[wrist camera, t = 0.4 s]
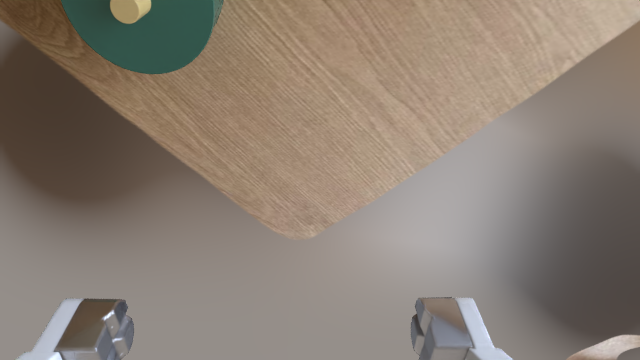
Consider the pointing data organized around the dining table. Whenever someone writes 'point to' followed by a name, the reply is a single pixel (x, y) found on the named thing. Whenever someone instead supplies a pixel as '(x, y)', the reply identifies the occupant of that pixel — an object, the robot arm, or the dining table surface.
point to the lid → (144, 31)
